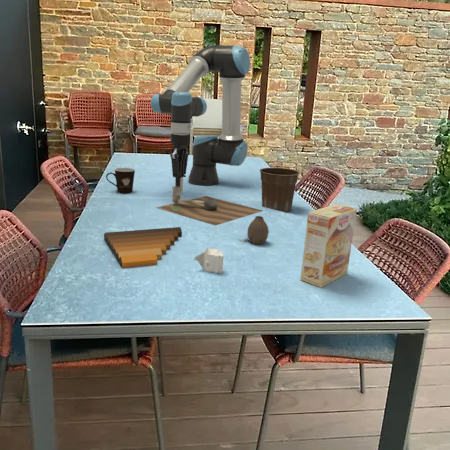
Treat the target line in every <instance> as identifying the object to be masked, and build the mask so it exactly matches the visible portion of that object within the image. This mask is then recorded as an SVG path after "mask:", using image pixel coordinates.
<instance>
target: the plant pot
mask: <svg viewBox="0 0 450 450" xmlns="http://www.w3.org/2000/svg"><path fill="white" fill-rule="evenodd" d="M259 172H260V181H261V207H263V208H266V209H270V210H274V211H279V212H283V213H288V212H290V211H291V210H292V206H293V201H294V196H295V191H296V190H295V189H296V185H297V183H298V179H299V178H298V177H299V175H300V171H298V170H295V169H292V168H291V169H290V168H286V167H285V168H284V167H263V168H260V169H259Z"/></svg>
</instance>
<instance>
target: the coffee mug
mask: <svg viewBox="0 0 450 450" xmlns="http://www.w3.org/2000/svg"><path fill="white" fill-rule="evenodd" d="M135 173H136V169H135V168H131V167H117V168H116V167H115V168H114V172H108V173H106V174H105V175H106V177H105V178H106V180H107V181H108V183H110V184H112V185H113V186H115V187H116V190H117V193H118V194H122V195H123V194H124V195H126V194H127V195H128V194H132V193H133V189H134V188H133V187H134V182H135V181H134V180H135ZM108 175H113V177H114V178H115V183H116V184H115V183H114V182H112V181H110V180H109V178H108Z"/></svg>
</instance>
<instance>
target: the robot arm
mask: <svg viewBox="0 0 450 450" xmlns="http://www.w3.org/2000/svg"><path fill="white" fill-rule="evenodd" d="M250 68H251V58H250V54H249V51H248V50H247V48H245V47H244V46H240V45H235V44H234V45H230V44H229V45H227V44H226V45H223V44H222V45H221V44H210V45H207V46H206V47H204V48H201V49H200V50H199V51H197V52H195V54H194V55H192V57H191V58H190V59H189V61H188V65H187V66H185V68H184V69H183V71H182V72H181V73H180V74H179V75H178V76H177V77H176V78H175V79H174V80H173V82H172V83H171V84H170V85H169V86H168V87H167V88H166V89H165V91H164V92H163V93H155V94H153V96H152V97H151V98H150V107H151V110H152V111H153V112H154V113H158V114H166V115H171V120H170V133H171V134H170V143H171V144H172V145H173V153H172V152H171V153H170V154H169V156H170V159H171V171H172V173H171V174H172V177H173V178H175V180H174V181H175V185H174V186H179V187H180V195H182V194H183V192H184V178H186V176H187V175H186V174H187V167H188V159H189V155H190V150H189V149H188V147H187V146H188V145H190V144H191V129H192V125H191V124H192V118H193V117H201V116H203V115H205V113H206V112H207V109H208V105H207V101H206V100H205V99H204V98H203V97H201V96H192V93H191V92H190V91H191V90H192V89H193V88H194V86H195V85H196V84H197V83H198V82H199V80H200V79H201V78H203V77H205V76H206V75H208V74H209V73H218V77H219V79H220V80H221V82H222V90H221V91H222V92H221V93H222V98H221V99H222V100H221V101H222V103H221V108H222V109H221V111H222V113H221V115H222V117H221V119H222V120H221V121H222V122H221V134H219V136H218V135H216V134H213V135H211V134H209V135H208V134H207V135H206V134H205V135H199V136H196V137H194V139H193V145H192V150H193V151H192V167H191V170H190V173H189V175H188V179H187V180H188V181H187V182H188V183H190V184H192V185H197V186H217V185H218V184H219V182H220V178H219V174H218V170H217V164H218V165H219V164H220V165H227V166H228V165H229V166H234V167H235V166H236V167H239V166H241V165H243V163H244V162H245V159H246V158H247V154H248V147H249V146H248V143H247V142H246V141H244V136H243V135H242V134H241V114H242V113H241V111H242V81H244V79H246V75H247V74H248V73H249V72H250Z"/></svg>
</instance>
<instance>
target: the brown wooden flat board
mask: <svg viewBox="0 0 450 450" xmlns="http://www.w3.org/2000/svg"><path fill="white" fill-rule="evenodd" d="M206 199H214V200H217V209H215V210H207V209H204V206H197V205H188V204H179V203H174V202H173V203H170V204H166V205H162V206H158V207H157V206H156V207H155V208H156V209H158V210H162V211H164V212H169V213H172V214H176V215H179V216H182V217H186V218H188V219H192V220H196V221H199V222H203V223H205V224H209V225H212V226H218V225H221V224H225V223H228V222H231V221H235V220H238V219H241V218H245V217H248V216H251V215H254V214H256V213H260V212H263V211H264V210H263V209H258V208H255V207H251V206H246V205H242V204H239V203H235V202H231V201H228V200H223V199H219V198H215V197H211V196H209V195H208V196H207V195H205V196H201V197H195V198H192V199H190V200H198V201H204V200H206Z"/></svg>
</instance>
